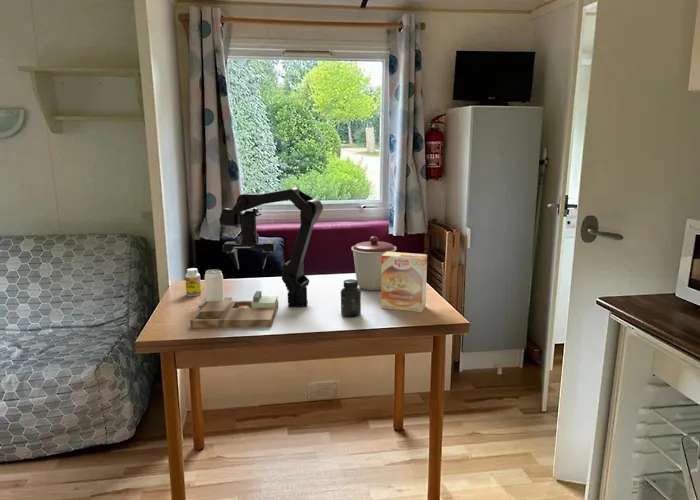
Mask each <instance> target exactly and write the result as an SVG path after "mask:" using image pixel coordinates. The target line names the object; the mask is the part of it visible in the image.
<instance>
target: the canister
mask: <svg viewBox="0 0 700 500" xmlns="http://www.w3.org/2000/svg"><path fill="white" fill-rule="evenodd" d="M350 250H351V251H352V254H353V261H354V269H355V270H354V272H355V278H356V279H355V280H357V281H358V288H359V289H360V288H361V289H362V290H366V291H381V265H382V255H383V254H384V253H386V252H397V250H398V249H397V246H395V245H393V244H392V243H390V242H386V241H379V238H378V237H377V236H371V237H370V238H369V241H362V242H358V243H356V244H354V245H352V246H351V249H350Z"/></svg>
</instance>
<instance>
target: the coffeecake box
mask: <svg viewBox="0 0 700 500" xmlns="http://www.w3.org/2000/svg"><path fill="white" fill-rule="evenodd" d="M427 267H428V254H424V253H412V252H411V253H410V252H399V251H395V252H386V253H384V254H383V255H382V265H381V290H380V291H381V292H380V308H381V309H388V310H389V309H390V310H397V311H399V310H400V311H406V312H408V311H409V312H415V313H422V312H423V310H424V309H426V306H427V273H428V272H427V270H428V268H427Z"/></svg>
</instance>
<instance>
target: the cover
mask: <svg viewBox="0 0 700 500" xmlns="http://www.w3.org/2000/svg"><path fill="white" fill-rule="evenodd" d="M251 301H252V303H251V307H252V308H275V306H276V304H277V301H278V302H279V300H278V295H263V294H262V291H261V290H256V291H255V293H254V294H253V296H252V300H251Z"/></svg>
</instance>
